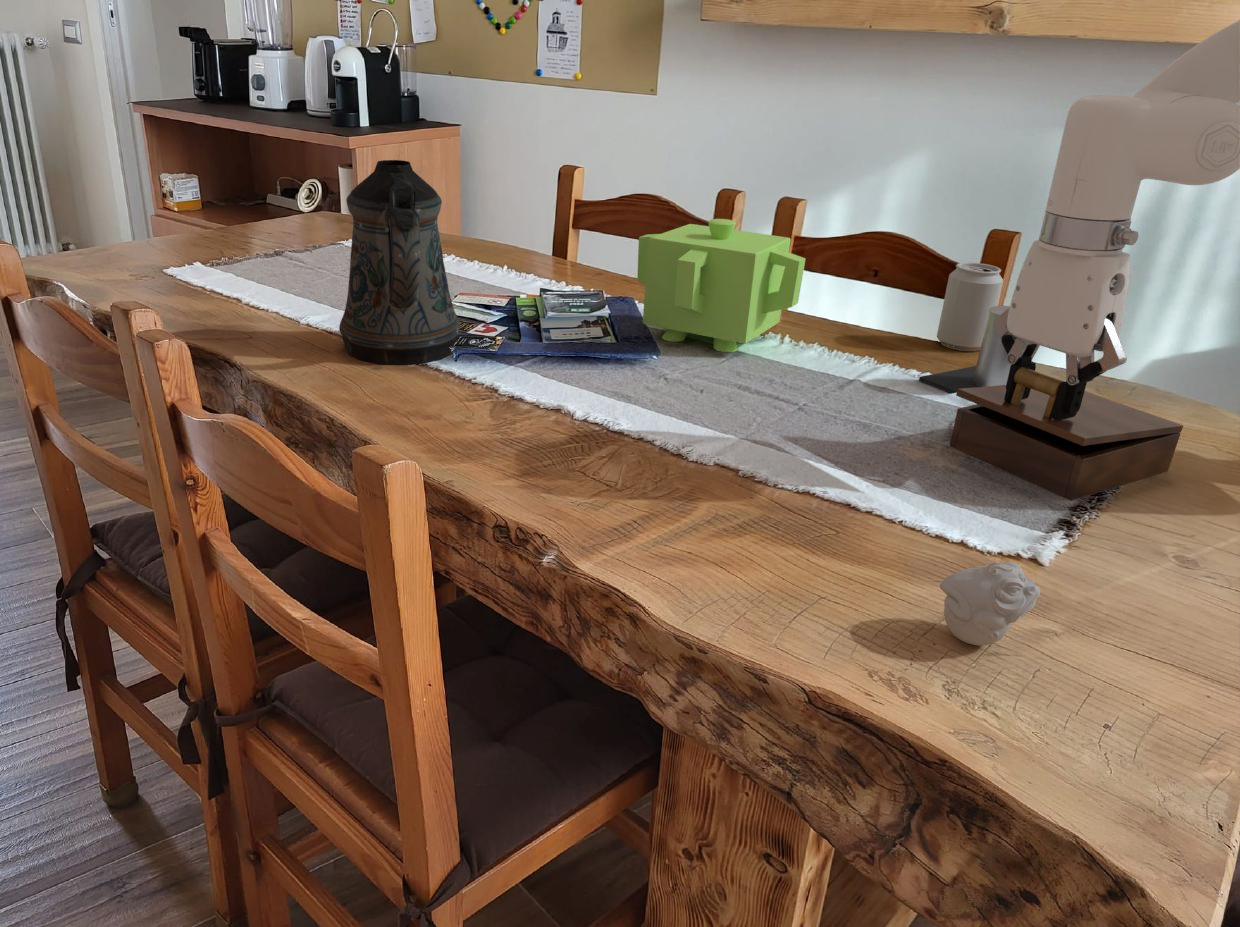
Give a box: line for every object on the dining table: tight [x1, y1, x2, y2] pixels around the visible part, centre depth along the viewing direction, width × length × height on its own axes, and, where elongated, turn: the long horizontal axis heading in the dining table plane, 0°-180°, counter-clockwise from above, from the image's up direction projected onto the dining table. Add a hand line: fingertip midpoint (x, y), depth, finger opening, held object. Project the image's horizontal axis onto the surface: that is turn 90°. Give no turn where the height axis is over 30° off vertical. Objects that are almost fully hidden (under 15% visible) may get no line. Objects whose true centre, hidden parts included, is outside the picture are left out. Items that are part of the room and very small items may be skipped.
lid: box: [955, 367, 1184, 446], centre depth 107 cm, size 17×16×5 cm
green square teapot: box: [636, 218, 807, 353], centre depth 147 cm, size 25×23×17 cm
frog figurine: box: [939, 561, 1041, 646], centre depth 77 cm, size 6×7×7 cm
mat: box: [918, 365, 977, 394], centre depth 133 cm, size 14×14×1 cm
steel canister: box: [973, 305, 1011, 387], centre depth 131 cm, size 6×6×10 cm
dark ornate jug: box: [338, 159, 461, 366], centre depth 134 cm, size 16×19×25 cm
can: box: [936, 262, 1004, 352], centre depth 148 cm, size 8×8×12 cm
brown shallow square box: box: [949, 403, 1182, 502], centre depth 110 cm, size 17×16×5 cm
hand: (1039, 407), depth 105 cm, fingers closed on lid, 5 cm apart
